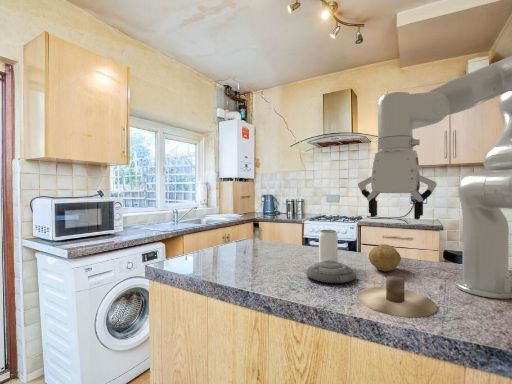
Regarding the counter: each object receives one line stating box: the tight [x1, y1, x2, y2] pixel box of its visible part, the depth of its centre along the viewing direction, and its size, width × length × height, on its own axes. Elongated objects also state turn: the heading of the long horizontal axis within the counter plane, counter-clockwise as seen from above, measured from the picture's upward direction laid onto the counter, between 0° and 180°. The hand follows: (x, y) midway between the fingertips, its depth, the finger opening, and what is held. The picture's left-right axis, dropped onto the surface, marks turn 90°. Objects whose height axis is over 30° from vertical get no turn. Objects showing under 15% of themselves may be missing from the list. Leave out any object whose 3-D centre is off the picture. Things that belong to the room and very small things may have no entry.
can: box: [318, 229, 339, 262], centre depth 104 cm, size 6×6×12 cm
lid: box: [357, 275, 438, 318], centre depth 70 cm, size 17×17×6 cm
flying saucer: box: [305, 260, 357, 284], centre depth 88 cm, size 15×15×6 cm
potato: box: [368, 243, 402, 272], centre depth 96 cm, size 10×14×8 cm
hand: (394, 217), depth 69 cm, fingers open, 9 cm apart
